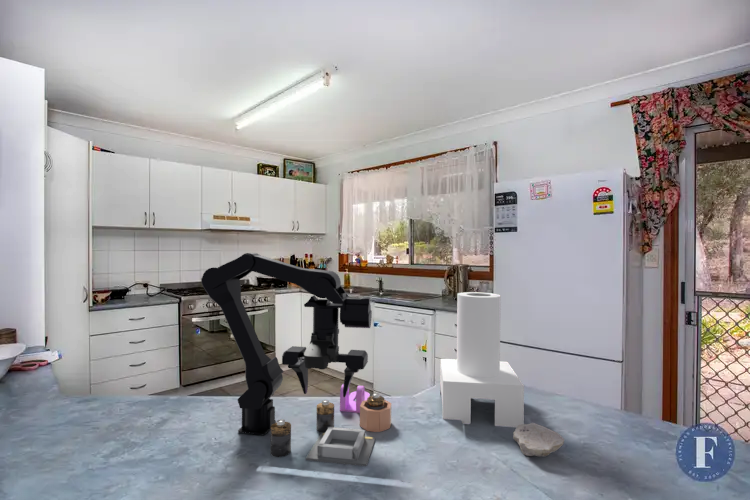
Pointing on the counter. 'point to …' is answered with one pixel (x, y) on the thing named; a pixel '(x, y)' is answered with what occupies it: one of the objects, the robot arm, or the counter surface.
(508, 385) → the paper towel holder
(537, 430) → the fossil
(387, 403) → the cup
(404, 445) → the counter surface
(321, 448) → the cradle
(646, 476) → the counter surface
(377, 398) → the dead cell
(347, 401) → the bracket
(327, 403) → the cell
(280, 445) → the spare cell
